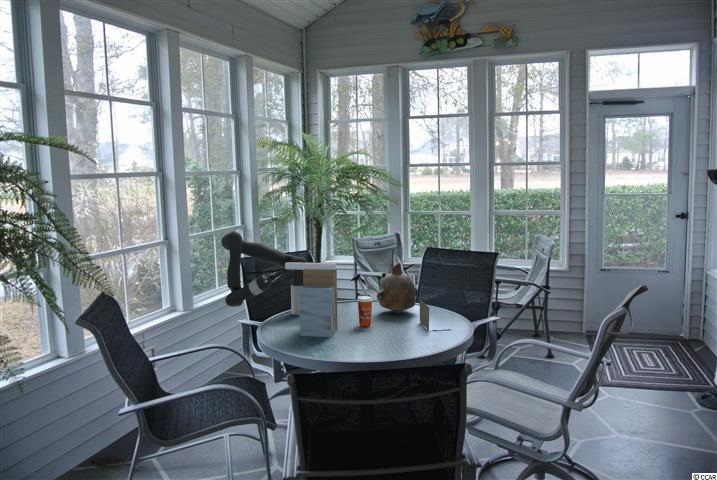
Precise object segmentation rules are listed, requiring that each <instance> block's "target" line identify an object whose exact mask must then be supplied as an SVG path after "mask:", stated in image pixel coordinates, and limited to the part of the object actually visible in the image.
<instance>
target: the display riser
mask: <svg viewBox="0 0 717 480" xmlns="http://www.w3.org/2000/svg"><path fill="white" fill-rule="evenodd" d="M299 310H300V315H299V336H301V337H315V338H316V337H317V338H318V337H321V338H332V337H333V336H334V334H335V333H336V332H337V331H338V328H339V327H338V269H337V268H336V269H335V270H303V286H302V287H301V288H299Z"/></svg>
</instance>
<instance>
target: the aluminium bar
mask: <svg viewBox="0 0 717 480" xmlns="http://www.w3.org/2000/svg"><path fill="white" fill-rule="evenodd" d="M284 268H285V269H288V270H289V269H301V270H335V269H337V263H336V262H335V263H333V262H308V263H293V262H287V263H285V267H284Z"/></svg>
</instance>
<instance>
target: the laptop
mask: <svg viewBox="0 0 717 480" xmlns="http://www.w3.org/2000/svg"><path fill="white" fill-rule="evenodd" d="M429 321H430V306H428V305H427V304H426V303H424V302H423V301H422V300H421V299H419V323H420V322H421V323H422V324H423V325H424V326H425V327H426V328H427V329H428V330H429ZM421 323H420V324H421ZM422 324H421V325H422ZM423 325H422V326H423ZM424 326H423V327H424ZM425 327H424V328H425ZM426 328H425V329H426ZM427 329H426V330H427ZM428 330H427V331H428Z"/></svg>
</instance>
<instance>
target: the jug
mask: <svg viewBox="0 0 717 480" xmlns="http://www.w3.org/2000/svg"><path fill="white" fill-rule="evenodd" d="M391 269H392V270H389V271H388V274H386V275H385V276H384V277H383V279H382V280H381V282H380V285H379V289H378V292H377V294H376V298H377V301H378V303H379V306H380V307H381V308H384V309H387V310H389V311H392V312H393V313H396V314H400V313H402V312H404V311H407V310H409V309H412V308H413V307H415V306H416V302H417V301H416V299H417V296H418V288H416V286H415V284H414V282H413V280H412V278H411V276H409V275H408V274H407V273H405V272H403V269H402V266H401V262H397V263H396V264H395V265H393V266H392V268H391ZM399 312H400V313H399Z"/></svg>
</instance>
